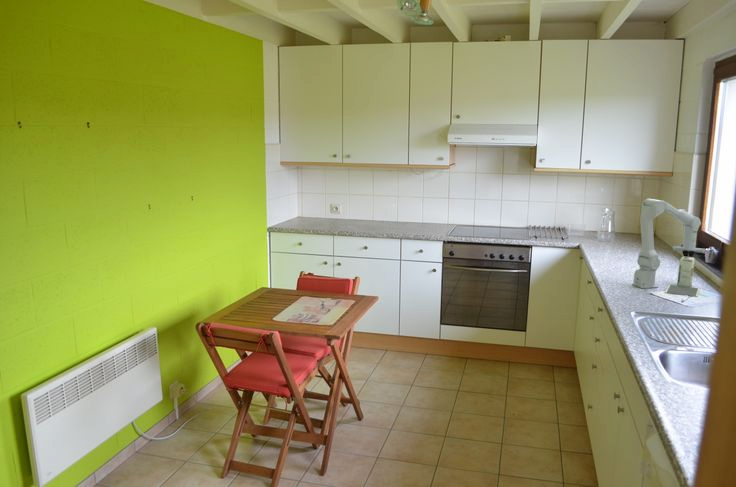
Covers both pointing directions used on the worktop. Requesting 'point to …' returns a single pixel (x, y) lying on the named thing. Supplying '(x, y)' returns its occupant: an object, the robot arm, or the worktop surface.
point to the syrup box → (686, 271)
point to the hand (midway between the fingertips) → (687, 265)
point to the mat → (682, 290)
